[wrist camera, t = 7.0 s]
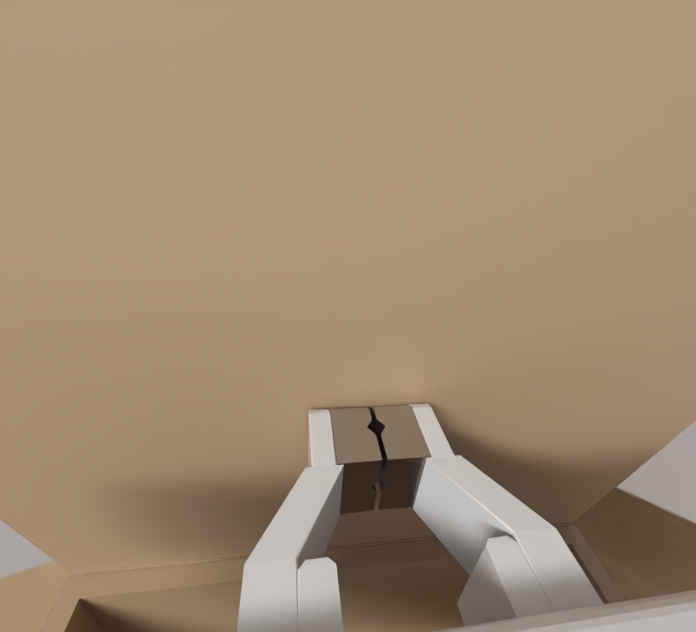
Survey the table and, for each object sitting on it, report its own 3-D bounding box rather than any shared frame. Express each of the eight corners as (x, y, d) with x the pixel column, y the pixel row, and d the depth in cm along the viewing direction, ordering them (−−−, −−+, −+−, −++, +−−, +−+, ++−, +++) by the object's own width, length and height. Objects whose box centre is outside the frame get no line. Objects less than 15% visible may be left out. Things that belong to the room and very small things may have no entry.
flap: (71, 573, 13) (79, 555, 14) (573, 522, 16) (565, 509, 17) (-1108, -309, 2) (-861, -249, 3) (1158, 32, 5) (1087, 33, 6)
